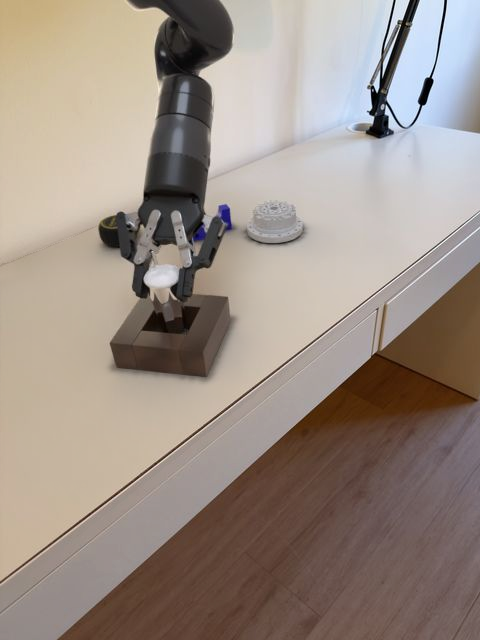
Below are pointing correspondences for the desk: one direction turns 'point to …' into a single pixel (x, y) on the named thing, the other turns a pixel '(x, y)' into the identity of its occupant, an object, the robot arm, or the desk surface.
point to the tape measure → (111, 231)
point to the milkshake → (166, 297)
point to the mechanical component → (274, 222)
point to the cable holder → (223, 214)
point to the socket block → (172, 337)
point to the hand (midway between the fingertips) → (161, 298)
